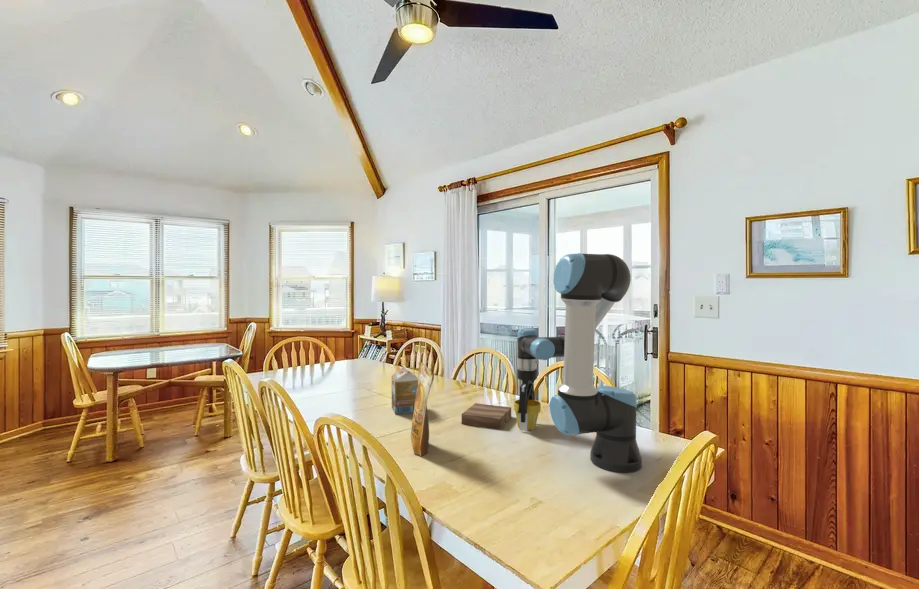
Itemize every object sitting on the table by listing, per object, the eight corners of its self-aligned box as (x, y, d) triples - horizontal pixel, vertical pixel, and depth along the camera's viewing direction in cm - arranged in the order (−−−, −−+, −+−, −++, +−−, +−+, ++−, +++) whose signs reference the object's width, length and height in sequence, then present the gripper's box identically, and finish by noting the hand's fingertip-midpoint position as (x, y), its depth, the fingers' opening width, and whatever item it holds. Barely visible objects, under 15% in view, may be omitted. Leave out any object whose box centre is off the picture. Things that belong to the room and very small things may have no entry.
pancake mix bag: (427, 436, 154) (427, 360, 153) (434, 457, 135) (434, 370, 135) (409, 437, 153) (409, 360, 152) (413, 459, 134) (413, 371, 133)
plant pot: (539, 423, 168) (539, 398, 168) (541, 432, 158) (541, 406, 158) (513, 422, 169) (513, 398, 169) (513, 431, 159) (513, 405, 159)
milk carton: (391, 407, 190) (391, 365, 189) (414, 405, 193) (414, 364, 192) (395, 414, 180) (395, 370, 179) (419, 412, 183) (419, 368, 182)
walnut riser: (500, 429, 162) (500, 418, 161) (461, 423, 168) (461, 413, 167) (511, 416, 176) (511, 407, 176) (475, 412, 182) (475, 403, 182)
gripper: (530, 375, 151) (529, 436, 152) (542, 364, 172) (542, 418, 173) (509, 373, 154) (509, 434, 155) (524, 362, 175) (524, 415, 176)
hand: (526, 425), depth 164 cm, fingers closed on plant pot, 10 cm apart
